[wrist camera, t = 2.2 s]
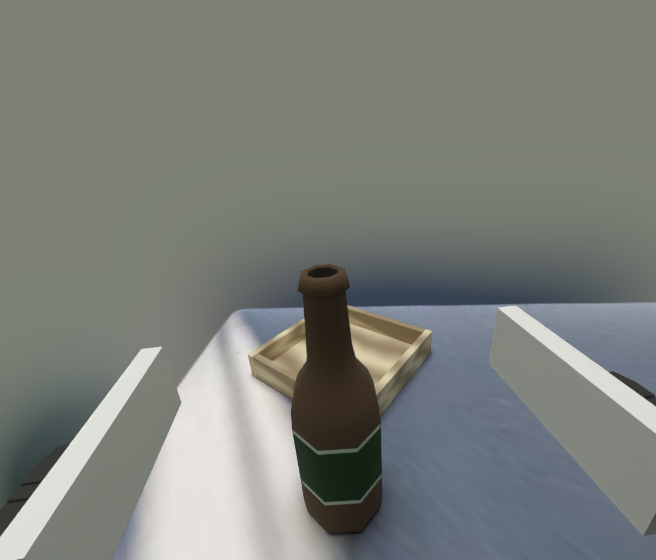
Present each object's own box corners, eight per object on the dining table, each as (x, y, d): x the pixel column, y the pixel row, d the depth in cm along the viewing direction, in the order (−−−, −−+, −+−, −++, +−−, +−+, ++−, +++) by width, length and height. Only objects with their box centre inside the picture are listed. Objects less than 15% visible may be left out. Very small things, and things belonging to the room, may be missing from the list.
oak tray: (332, 318, 62) (331, 300, 61) (430, 352, 50) (432, 331, 49) (252, 375, 49) (247, 354, 47) (360, 441, 37) (359, 415, 35)
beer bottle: (322, 557, 27) (283, 309, 17) (294, 477, 33) (255, 265, 24) (399, 514, 29) (403, 277, 20) (359, 447, 36) (347, 246, 26)
